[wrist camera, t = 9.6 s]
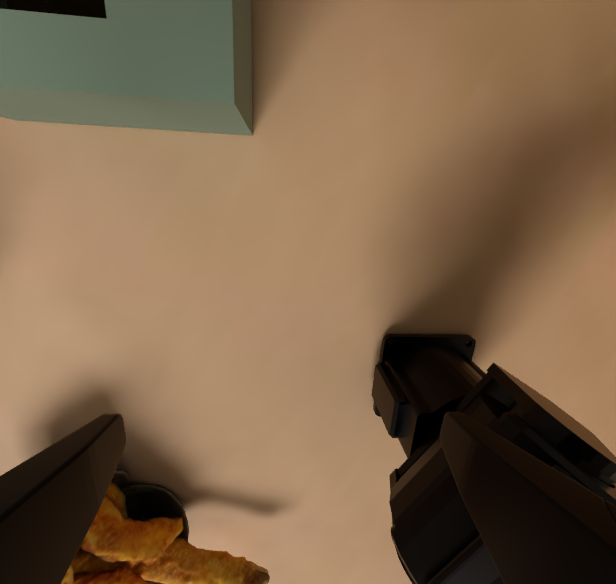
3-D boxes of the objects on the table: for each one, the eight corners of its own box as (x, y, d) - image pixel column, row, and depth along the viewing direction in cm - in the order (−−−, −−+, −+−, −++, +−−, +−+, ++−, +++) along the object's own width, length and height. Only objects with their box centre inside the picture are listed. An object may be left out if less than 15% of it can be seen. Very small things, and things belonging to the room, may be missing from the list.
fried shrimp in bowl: (-46, 467, 17) (258, 627, 14) (105, 418, 28) (294, 503, 25) (-130, 648, 16) (181, 859, 13) (62, 523, 27) (253, 625, 24)
